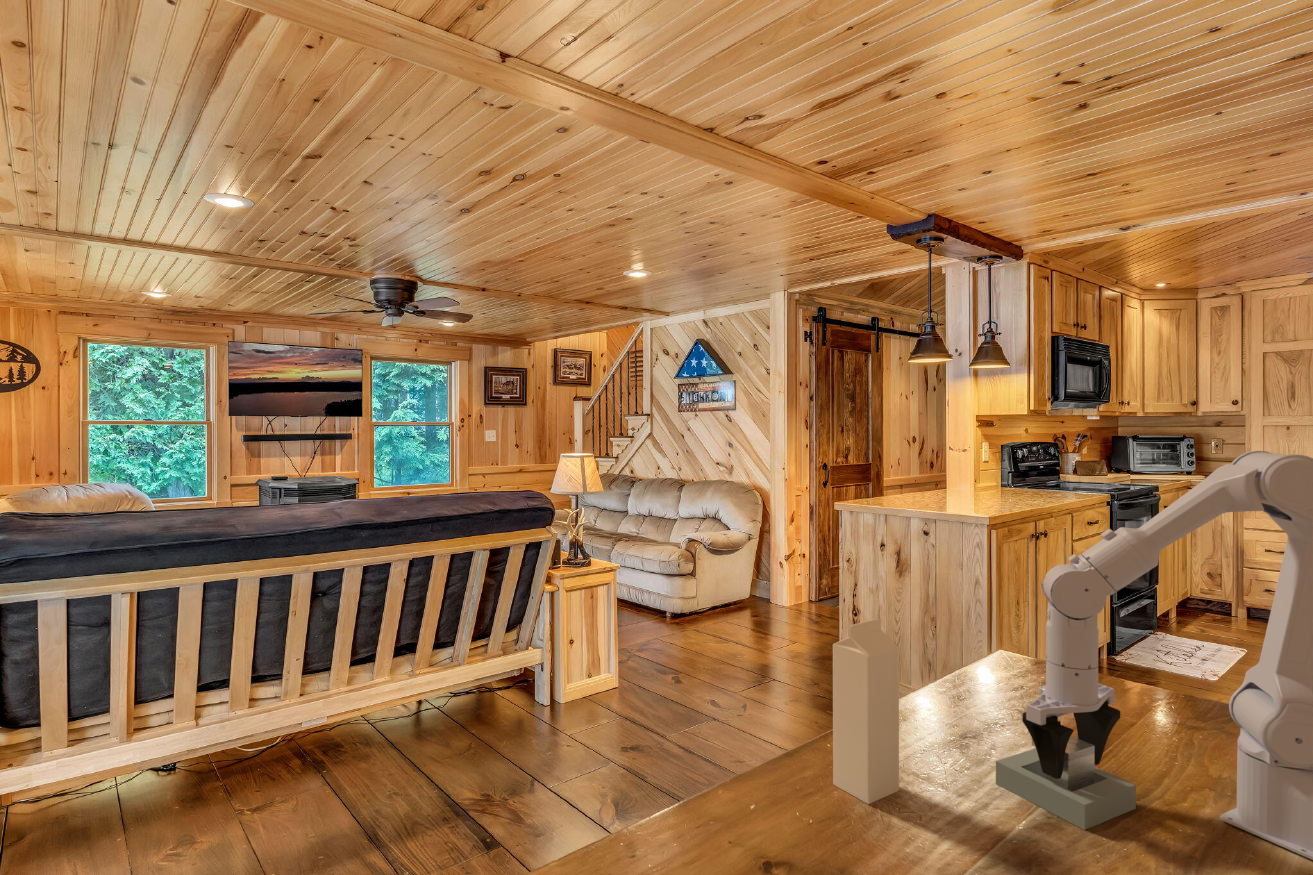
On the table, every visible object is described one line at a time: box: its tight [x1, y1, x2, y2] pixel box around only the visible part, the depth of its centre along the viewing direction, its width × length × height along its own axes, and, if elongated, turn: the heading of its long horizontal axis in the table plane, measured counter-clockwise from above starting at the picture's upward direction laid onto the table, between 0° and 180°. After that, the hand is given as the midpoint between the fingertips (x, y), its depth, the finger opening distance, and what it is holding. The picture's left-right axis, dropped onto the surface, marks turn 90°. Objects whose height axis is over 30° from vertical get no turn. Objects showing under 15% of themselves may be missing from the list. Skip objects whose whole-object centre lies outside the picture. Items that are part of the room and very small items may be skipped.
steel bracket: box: [1031, 735, 1095, 792], centre depth 91 cm, size 5×5×7 cm
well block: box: [995, 747, 1137, 831], centre depth 91 cm, size 12×10×3 cm
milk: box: [832, 618, 900, 805], centre depth 93 cm, size 6×6×22 cm
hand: (1071, 768), depth 90 cm, fingers open, 7 cm apart
